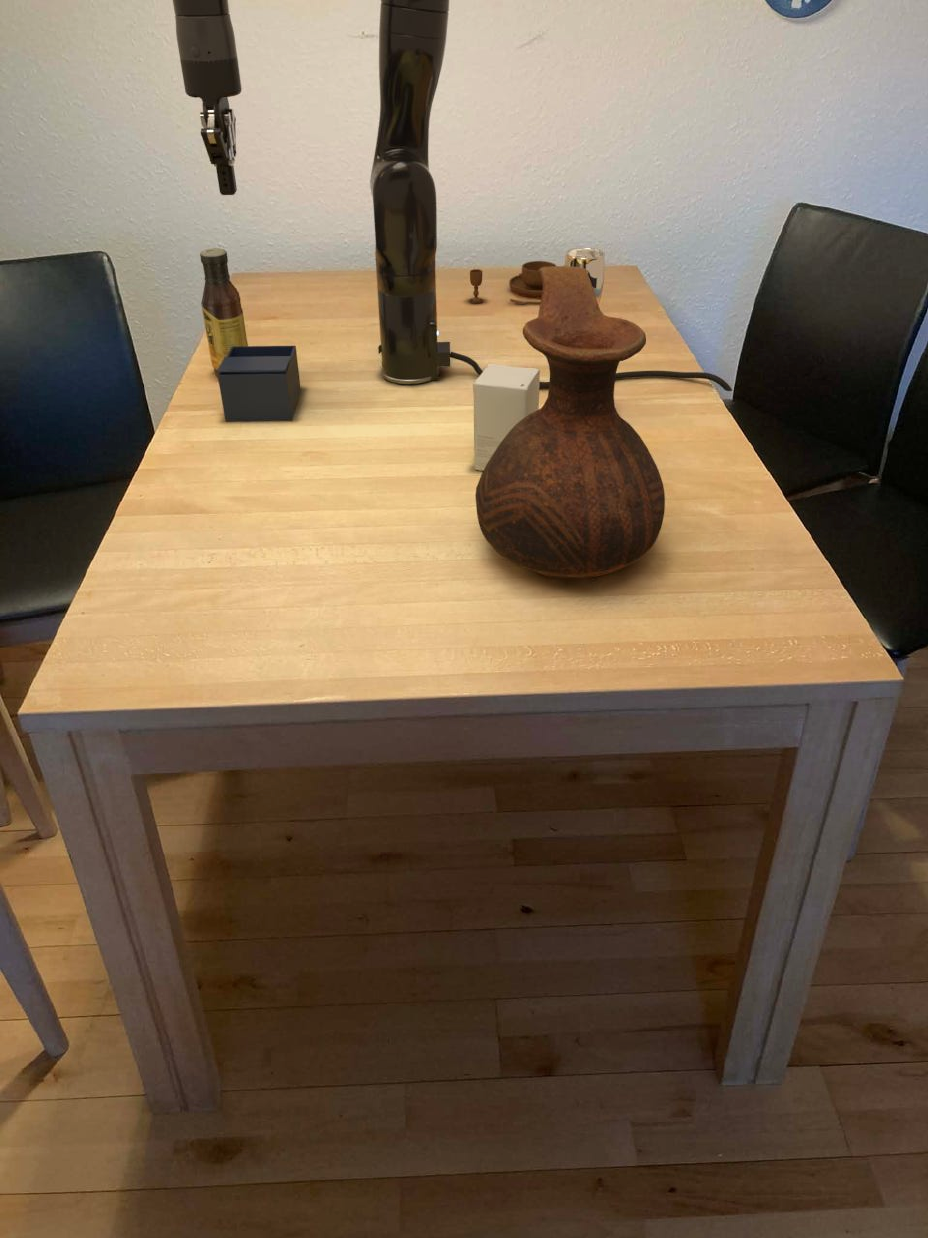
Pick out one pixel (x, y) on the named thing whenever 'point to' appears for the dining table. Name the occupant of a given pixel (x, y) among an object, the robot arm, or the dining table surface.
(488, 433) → the white packaging box
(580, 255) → the beer glass
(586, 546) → the jug
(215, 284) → the sauce bottle
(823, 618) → the dining table surface
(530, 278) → the place setting
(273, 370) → the flap
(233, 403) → the carton
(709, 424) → the dining table surface
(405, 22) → the robot arm
